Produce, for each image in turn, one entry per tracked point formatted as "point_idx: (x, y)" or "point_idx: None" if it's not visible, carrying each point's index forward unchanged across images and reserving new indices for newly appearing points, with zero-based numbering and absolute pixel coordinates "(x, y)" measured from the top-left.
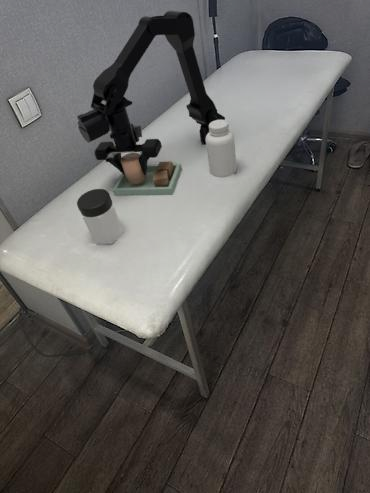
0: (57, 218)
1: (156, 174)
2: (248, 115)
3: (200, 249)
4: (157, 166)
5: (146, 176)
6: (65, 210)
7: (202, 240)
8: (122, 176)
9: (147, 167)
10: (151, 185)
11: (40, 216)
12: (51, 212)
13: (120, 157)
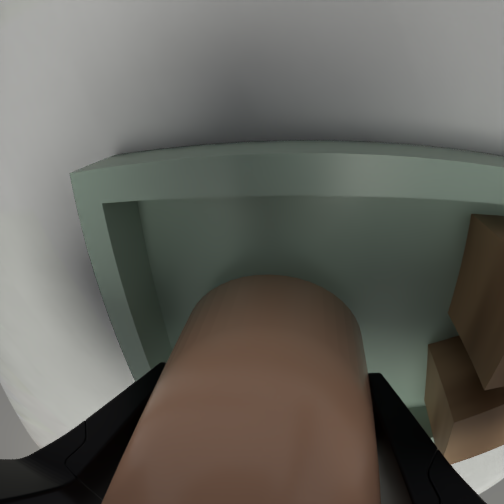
0: (60, 429)
1: (472, 432)
2: None
3: (486, 488)
4: (463, 199)
5: (362, 339)
6: (49, 408)
7: (498, 477)
8: (136, 343)
9: (339, 189)
10: (393, 357)
11: (16, 405)
12: (24, 401)
13: (78, 501)
